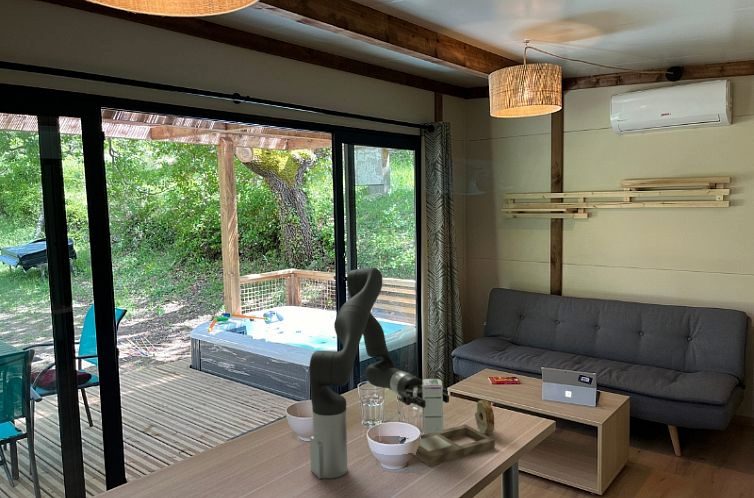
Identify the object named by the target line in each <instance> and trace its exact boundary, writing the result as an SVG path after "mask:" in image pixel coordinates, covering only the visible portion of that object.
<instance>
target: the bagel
mask: <svg viewBox="0 0 754 498" xmlns="http://www.w3.org/2000/svg"><path fill="white" fill-rule="evenodd" d="M476 408H477V409H476V412H475V413H474V418H475V421H476V425H477V428H478V429H479V432H481V433H483V434H484V435H490V434H492V433H493V432H494V431H495V415H494V409H493V407H492V405H491V403H490V402H489V401H488V400H485V399H483V400H478V401H477V403H476Z"/></svg>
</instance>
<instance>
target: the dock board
mask: <svg viewBox="0 0 754 498" xmlns="http://www.w3.org/2000/svg"><path fill="white" fill-rule="evenodd" d="M420 435H421V439H420V444H419V447H418V449H417V452H416V455H415V456H414V457H415V458H417V459H418V460H420V461H421V462H422V463H424V464H426V466H428V467H431V466H435V465H438V464H443V463H445V462H449V461H453V460H456V459H461V458H464V457H467V456H471V455H475V454H478V453H483V452H486V451H489V450H490V451H491V450H493V449H496V448H495V447H496V446H495V445H496V444H495V443H496V442H495V441H496V439H494V438H492V437H490V436H488V435H487V434H483V433H482V432H481V431H480V430H479V431H478V430H477V429H475V428H474V427H471V426H469V425H467V424H462V425H457V426H454V427H450V428H445V429H443V433H437V434H431V433H424V434H420ZM465 436H466V437H468V438H470V439H472V440H474V441H472V442H468V443H465V444H460V445H459V444H457V443H456V442H454V441H453V440H452V439H457V438H460V437H465Z"/></svg>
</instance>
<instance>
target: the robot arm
mask: <svg viewBox="0 0 754 498" xmlns="http://www.w3.org/2000/svg"><path fill="white" fill-rule="evenodd" d="M346 286H347V290H348V294H349V296H350V298H349V299H348V300H347V301H345V303H344V304H342V306H341V307H340V309H339V311H338V312H337V315H336V318H335V320H334V323H333V325H334V331H335V334H336V336H337V339H338V340H339V341H340V343H341V345H342V349H341V350H339V351H337V350H336V351H335V350H334V351H333V350H316V351H314V352H313V353H312V354H311V357H310V360H309V383H310V400H311V406H312V407H311V408H312V409H311V410H312V436H310V438H309V439H310V444H309V445H310V449H309V450H310V471H311V472H312V473H313V474H314V475H315V476H316V477H317V478H318V480H319V479H320V480H321V479H335V478H339V477H342V476H344V475H346V474H347V472H348V437H347V436H348V435H347V434H348V431H347V427H348V425H347V400H346V398H345V397H344V396H343V395H341V394H339V393H337V392H335V391H333V390H332V389H331V388H330V387H345V386H346V385H347V383H349V381H350V378H351V375H352V373H353V368H354V364H355V361H356V357H357V352H358V348H359V345H360V342H361V339H362V338H363V341H364V346H365V350H366V351H365V352H366V354H367V356H368V357H370V358H380V359H381V360H379V361H376V362H374V363H371V364H368V366H367V367H366V369H365V378H366V379H367V382H368V383H369V384H370V385H372V386H375V387H377V388H384V389H389V390H391V391H392V392H394V393H395V395H397V397H398V398H397V399H398V400H399V401H400V402H402V403H403V404H405V405H407V406H411V404H412V405H413V406H418V407H419V408H422V409H423V408H425V400H423V397H422V380H423V379H420V378H419V377H417V376H415V375H413V374H411V373H409V372H406V371H404V370H401V369H399V368H397V366H396V364H395V362H394V360H393V358H392V356H391V354H390V351H389V349H388V347H387V342H386V341H387V340H386V337H385V331H384V329H383V327H382V325H381V323H380V322H379V320H377V319H376V318H375V316H374V315H373V314H372V313H371V311H372V309H373V307H374V305H375V303H376V301H377V299H378V297H379V295H380V294H381V291H382V288H383V275H382V273H381V270H379V268H376V267H365V268H359V269H358V268H357V269H352V270H349V271H348V273H347V275H346ZM449 402H450V395H448V394H447V388H445V387H443V403H446V404H447V403H449Z"/></svg>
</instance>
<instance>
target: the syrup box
mask: <svg viewBox="0 0 754 498" xmlns="http://www.w3.org/2000/svg"><path fill="white" fill-rule="evenodd" d="M421 380H422V397H423V400H425V408H422V430H423V433H424V434H428V433H431V434H437V433H443V430H444V405H443V404H444V401H443V388H444V387H443V382H442V380H441V378H424V379H421Z"/></svg>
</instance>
